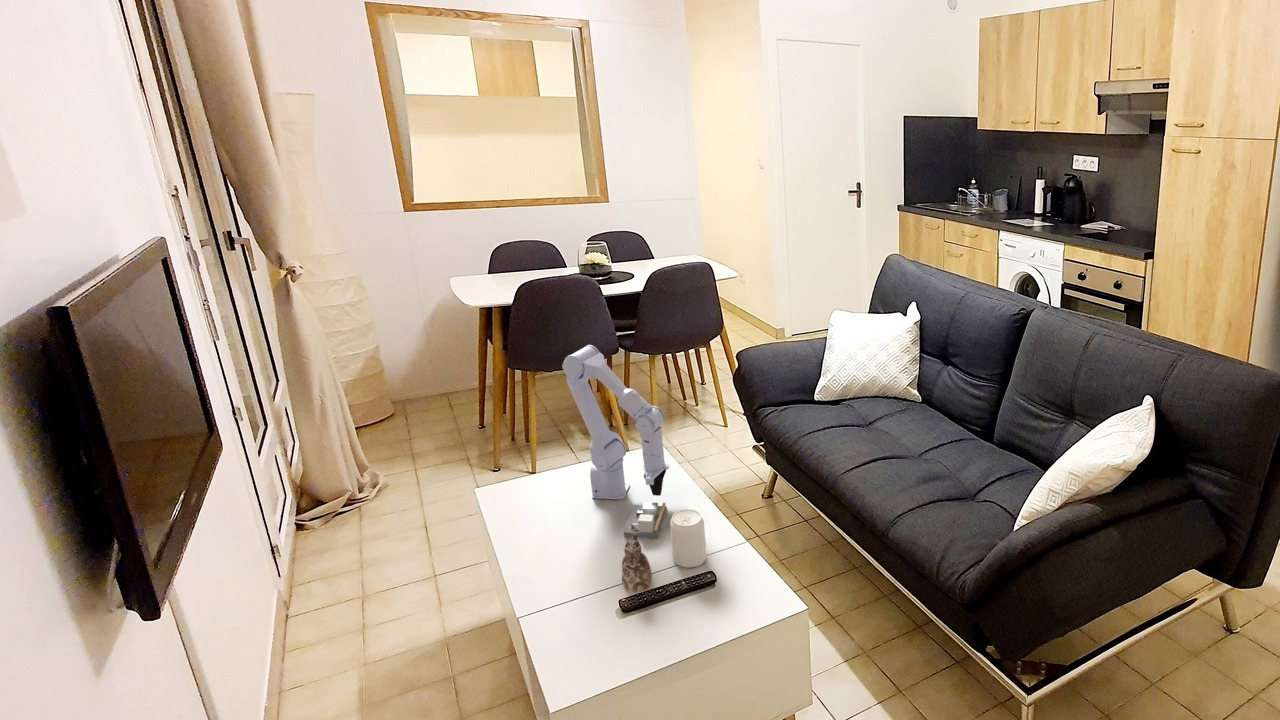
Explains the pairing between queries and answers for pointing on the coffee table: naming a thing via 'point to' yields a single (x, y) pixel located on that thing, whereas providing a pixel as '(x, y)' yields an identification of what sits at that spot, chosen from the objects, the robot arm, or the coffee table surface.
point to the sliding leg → (650, 509)
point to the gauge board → (635, 520)
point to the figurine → (635, 568)
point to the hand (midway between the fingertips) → (657, 494)
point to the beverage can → (688, 538)
